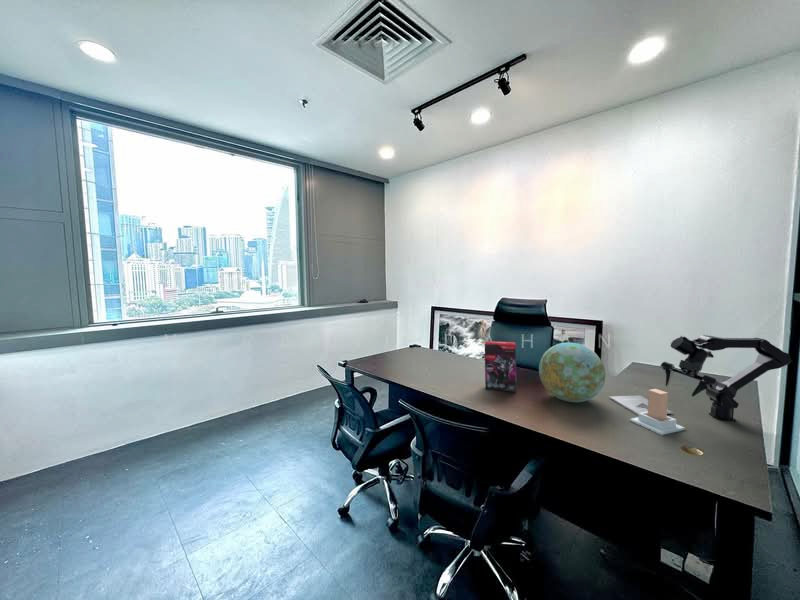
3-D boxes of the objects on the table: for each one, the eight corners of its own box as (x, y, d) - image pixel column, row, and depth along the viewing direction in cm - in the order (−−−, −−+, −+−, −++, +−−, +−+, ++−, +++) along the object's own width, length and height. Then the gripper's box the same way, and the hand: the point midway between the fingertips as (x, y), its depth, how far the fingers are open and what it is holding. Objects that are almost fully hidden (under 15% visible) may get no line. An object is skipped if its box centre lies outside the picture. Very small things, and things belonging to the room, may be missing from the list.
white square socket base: (652, 416, 145) (652, 407, 145) (684, 429, 133) (685, 420, 133) (630, 420, 142) (630, 412, 141) (661, 435, 129) (662, 425, 129)
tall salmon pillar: (654, 419, 140) (655, 388, 139) (666, 424, 135) (667, 392, 134) (647, 421, 139) (648, 389, 138) (659, 426, 134) (660, 394, 133)
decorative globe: (556, 385, 187) (557, 334, 184) (614, 401, 163) (616, 343, 160) (527, 398, 169) (527, 343, 166) (587, 418, 145) (589, 354, 142)
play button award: (640, 395, 166) (673, 412, 147) (639, 398, 167) (673, 415, 147) (609, 396, 166) (638, 413, 146) (609, 399, 166) (638, 416, 147)
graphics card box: (484, 390, 183) (484, 343, 181) (485, 385, 190) (485, 340, 187) (516, 392, 178) (516, 344, 175) (516, 388, 184) (516, 341, 182)
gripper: (666, 345, 145) (650, 375, 143) (721, 362, 129) (704, 395, 128) (670, 355, 151) (655, 383, 149) (724, 372, 136) (707, 404, 134)
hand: (678, 391), depth 140 cm, fingers open, 9 cm apart
